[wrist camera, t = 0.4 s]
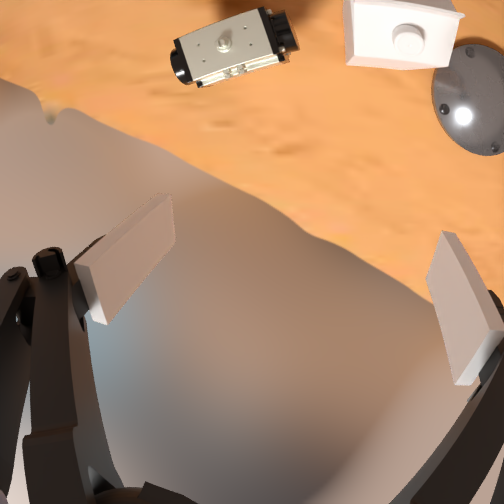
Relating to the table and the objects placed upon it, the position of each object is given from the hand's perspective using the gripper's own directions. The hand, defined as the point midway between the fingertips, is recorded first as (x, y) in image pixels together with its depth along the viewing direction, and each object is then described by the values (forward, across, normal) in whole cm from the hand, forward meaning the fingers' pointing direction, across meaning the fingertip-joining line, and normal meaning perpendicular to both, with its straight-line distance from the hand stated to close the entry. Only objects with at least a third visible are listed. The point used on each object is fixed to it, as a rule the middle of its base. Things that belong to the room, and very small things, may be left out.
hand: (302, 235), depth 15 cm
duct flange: (+26, +20, +9) cm, 33 cm away
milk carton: (+26, +5, +13) cm, 30 cm away
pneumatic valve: (+26, -8, +10) cm, 29 cm away
